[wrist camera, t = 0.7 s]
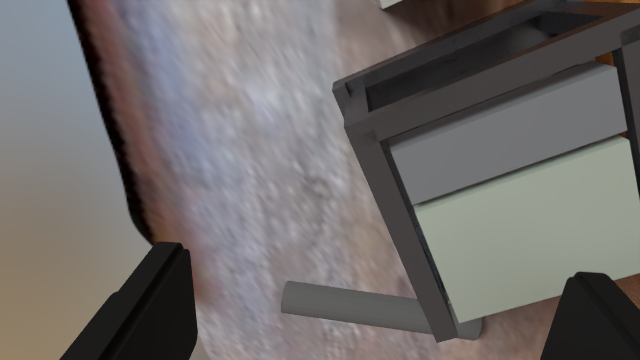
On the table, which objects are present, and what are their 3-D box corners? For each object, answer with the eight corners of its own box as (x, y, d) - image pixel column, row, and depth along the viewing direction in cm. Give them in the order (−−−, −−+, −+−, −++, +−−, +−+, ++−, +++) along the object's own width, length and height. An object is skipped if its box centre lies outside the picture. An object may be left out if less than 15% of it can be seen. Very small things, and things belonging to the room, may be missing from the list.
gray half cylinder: (469, 336, 44) (474, 349, 42) (281, 309, 44) (279, 321, 42) (481, 303, 42) (486, 316, 40) (285, 275, 42) (283, 286, 41)
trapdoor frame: (559, -15, 30) (665, -20, 20) (606, 208, 36) (704, 290, 26) (333, 82, 34) (326, 120, 24) (412, 269, 40) (433, 360, 30)
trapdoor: (591, 60, 24) (616, 67, 22) (628, 248, 28) (651, 269, 26) (387, 139, 26) (391, 152, 24) (451, 299, 31) (459, 323, 29)
